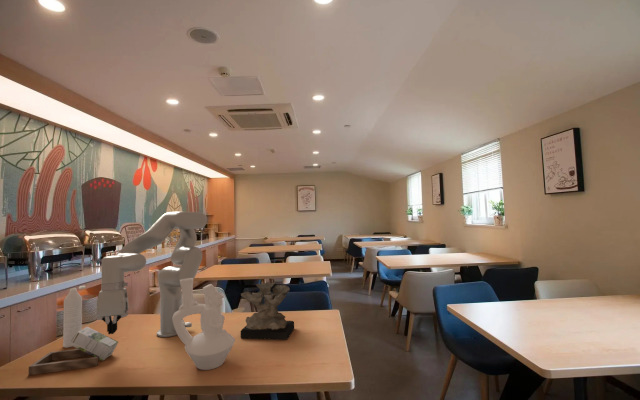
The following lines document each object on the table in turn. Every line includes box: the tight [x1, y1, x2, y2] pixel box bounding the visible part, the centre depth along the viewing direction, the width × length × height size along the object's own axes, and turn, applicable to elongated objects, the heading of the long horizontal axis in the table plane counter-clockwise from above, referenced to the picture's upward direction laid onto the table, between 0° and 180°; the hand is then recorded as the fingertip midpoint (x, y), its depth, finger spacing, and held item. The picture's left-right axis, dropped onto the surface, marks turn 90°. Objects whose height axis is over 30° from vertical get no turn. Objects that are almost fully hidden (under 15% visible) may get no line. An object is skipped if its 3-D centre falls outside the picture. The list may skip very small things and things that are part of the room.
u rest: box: [28, 348, 99, 376], centre depth 117 cm, size 21×12×3 cm, turn 104°
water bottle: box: [62, 285, 87, 349], centre depth 136 cm, size 9×6×25 cm
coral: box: [239, 281, 295, 341], centre depth 144 cm, size 25×20×22 cm
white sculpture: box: [172, 278, 236, 371], centre depth 113 cm, size 18×22×32 cm
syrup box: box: [70, 326, 119, 362], centre depth 120 cm, size 6×6×14 cm
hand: (112, 332), depth 120 cm, fingers closed
